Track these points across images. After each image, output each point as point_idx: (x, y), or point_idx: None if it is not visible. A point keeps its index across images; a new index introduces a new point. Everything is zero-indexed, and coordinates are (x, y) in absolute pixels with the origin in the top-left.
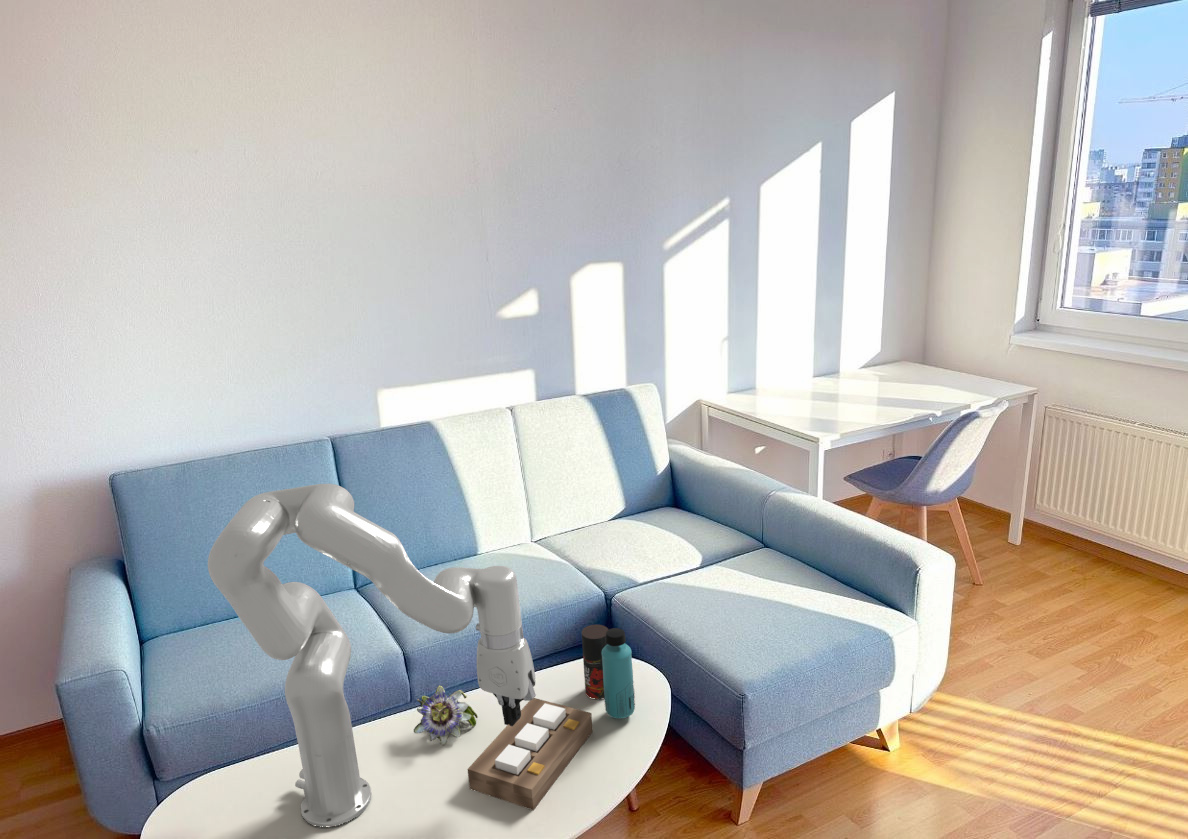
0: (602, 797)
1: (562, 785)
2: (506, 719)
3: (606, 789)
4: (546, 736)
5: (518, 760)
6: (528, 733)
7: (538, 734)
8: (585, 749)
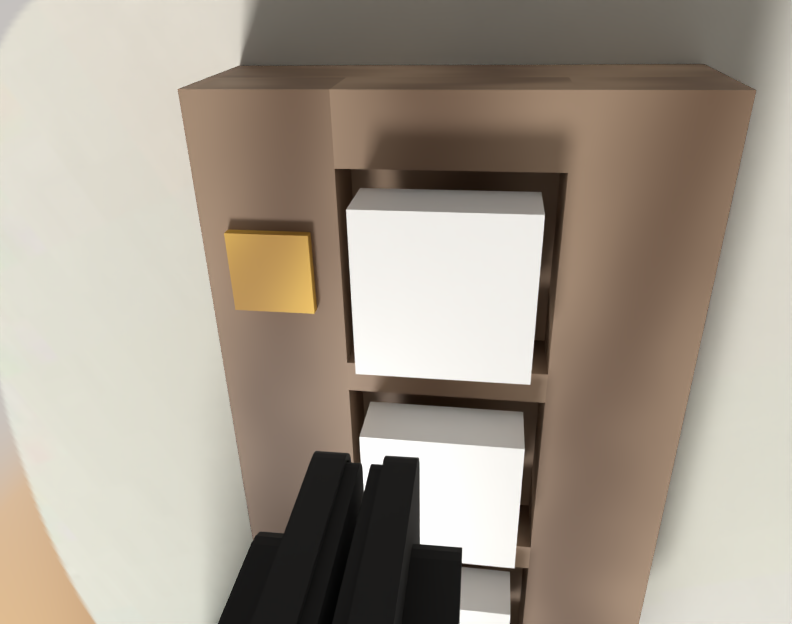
0: (19, 277)
1: None
2: (374, 512)
3: (39, 325)
4: None
5: (374, 270)
6: (457, 499)
7: None
8: None
